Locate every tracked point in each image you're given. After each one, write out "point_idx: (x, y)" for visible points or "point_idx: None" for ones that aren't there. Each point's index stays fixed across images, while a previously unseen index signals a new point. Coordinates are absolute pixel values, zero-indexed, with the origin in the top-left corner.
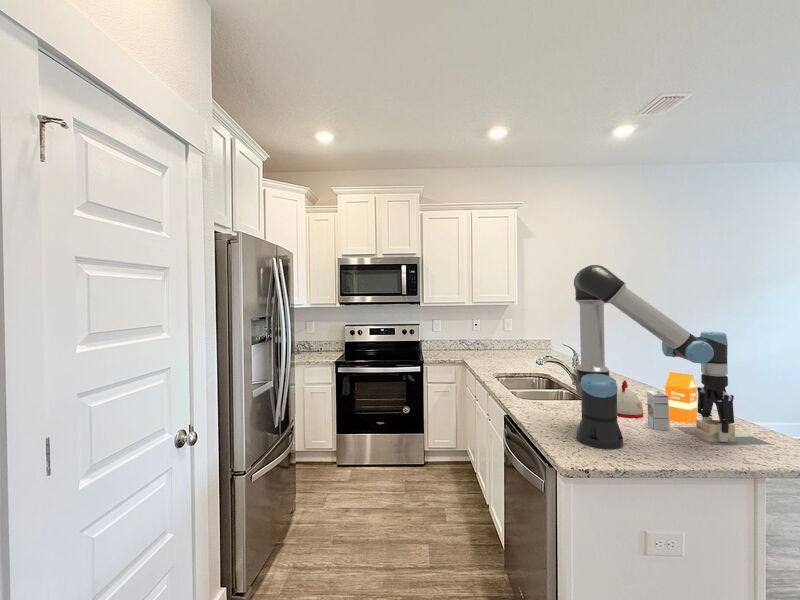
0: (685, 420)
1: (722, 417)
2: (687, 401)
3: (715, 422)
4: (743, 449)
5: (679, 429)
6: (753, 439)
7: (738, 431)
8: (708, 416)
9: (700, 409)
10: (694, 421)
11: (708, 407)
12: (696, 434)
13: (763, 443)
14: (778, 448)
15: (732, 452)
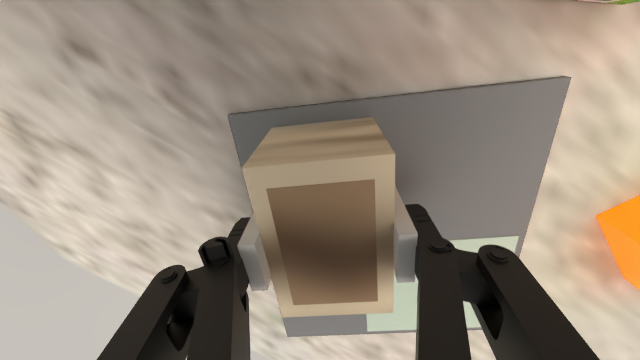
0: (638, 216)
1: (199, 299)
2: None
3: (323, 251)
4: (219, 224)
5: (515, 87)
6: (335, 317)
7: None
8: (416, 272)
9: (492, 284)
10: (619, 261)
11: (417, 351)
12: (405, 137)
13: (291, 319)
14: (263, 329)
15: (158, 155)
